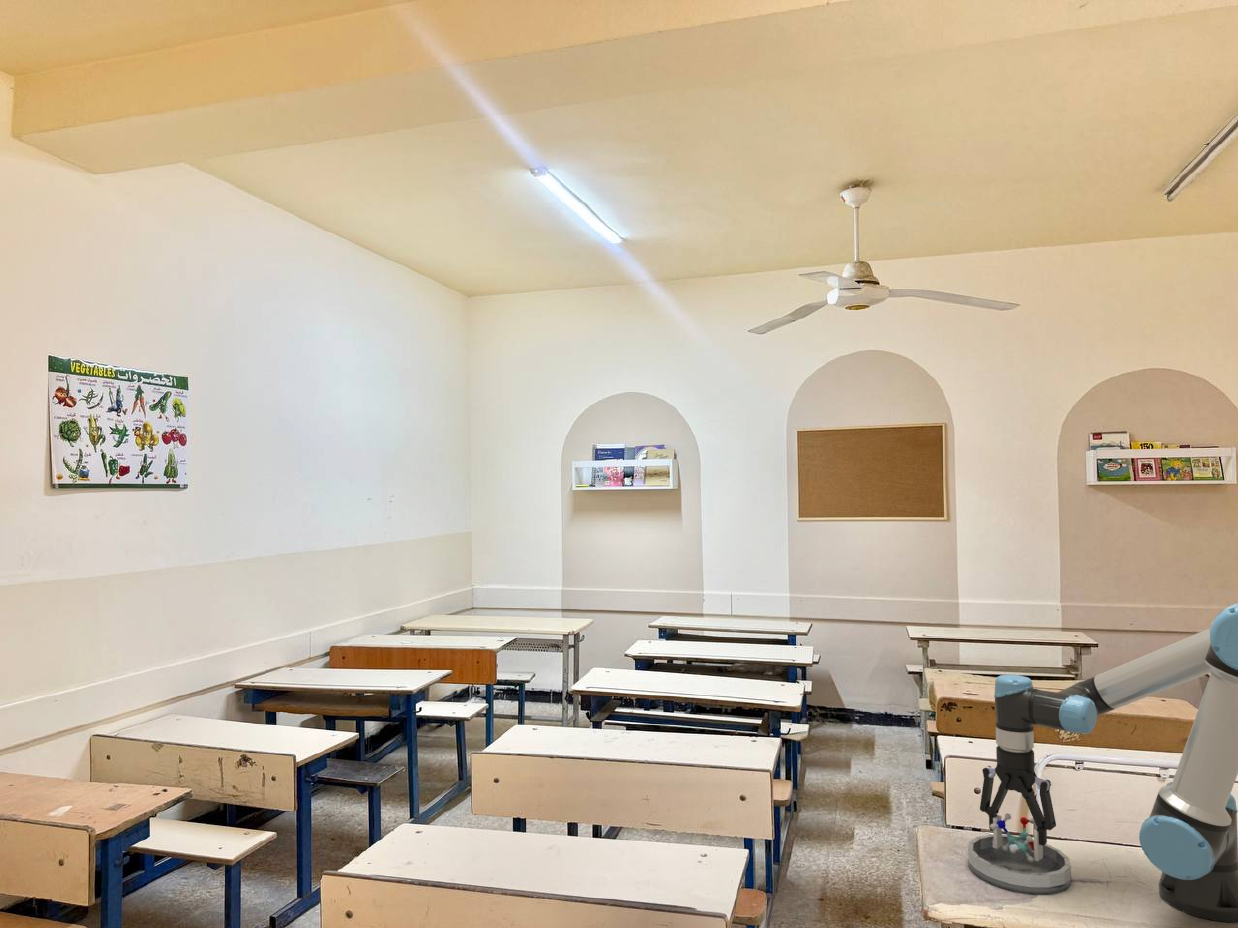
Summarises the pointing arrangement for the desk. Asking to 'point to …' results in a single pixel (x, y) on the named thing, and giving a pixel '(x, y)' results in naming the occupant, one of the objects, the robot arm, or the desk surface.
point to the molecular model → (1013, 839)
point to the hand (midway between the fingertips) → (1018, 852)
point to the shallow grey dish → (1019, 867)
